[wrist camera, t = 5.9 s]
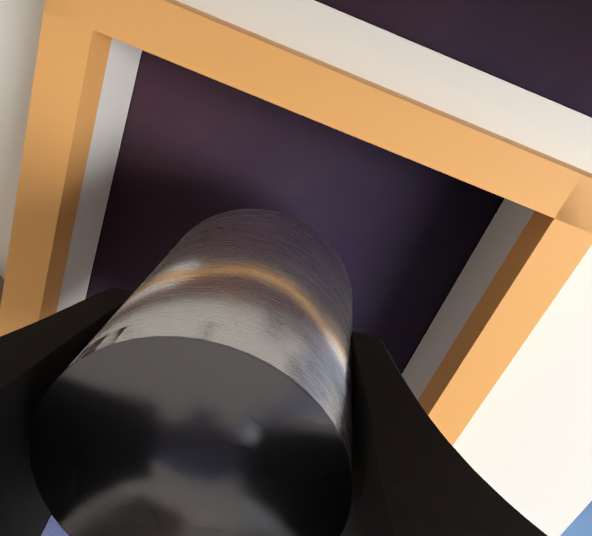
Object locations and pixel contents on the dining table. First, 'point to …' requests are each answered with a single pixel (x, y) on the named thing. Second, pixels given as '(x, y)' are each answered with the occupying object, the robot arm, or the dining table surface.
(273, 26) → the white flat frame
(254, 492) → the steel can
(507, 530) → the robot arm
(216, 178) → the dining table surface
